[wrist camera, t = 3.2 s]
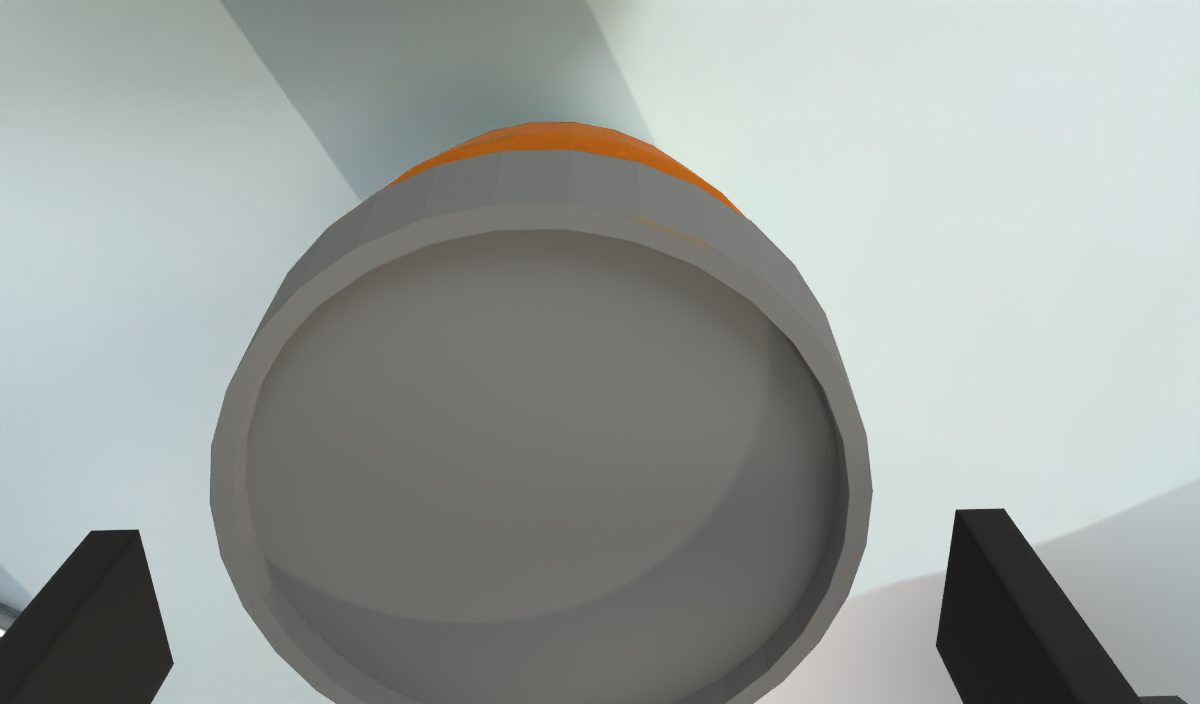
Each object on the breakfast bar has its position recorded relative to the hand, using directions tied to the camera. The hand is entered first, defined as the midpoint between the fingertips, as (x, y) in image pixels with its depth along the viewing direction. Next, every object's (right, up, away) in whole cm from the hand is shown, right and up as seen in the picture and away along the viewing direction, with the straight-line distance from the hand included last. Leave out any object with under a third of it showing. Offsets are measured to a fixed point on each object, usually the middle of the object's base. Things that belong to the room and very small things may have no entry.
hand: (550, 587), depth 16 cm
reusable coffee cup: (0, +7, +16) cm, 17 cm away
